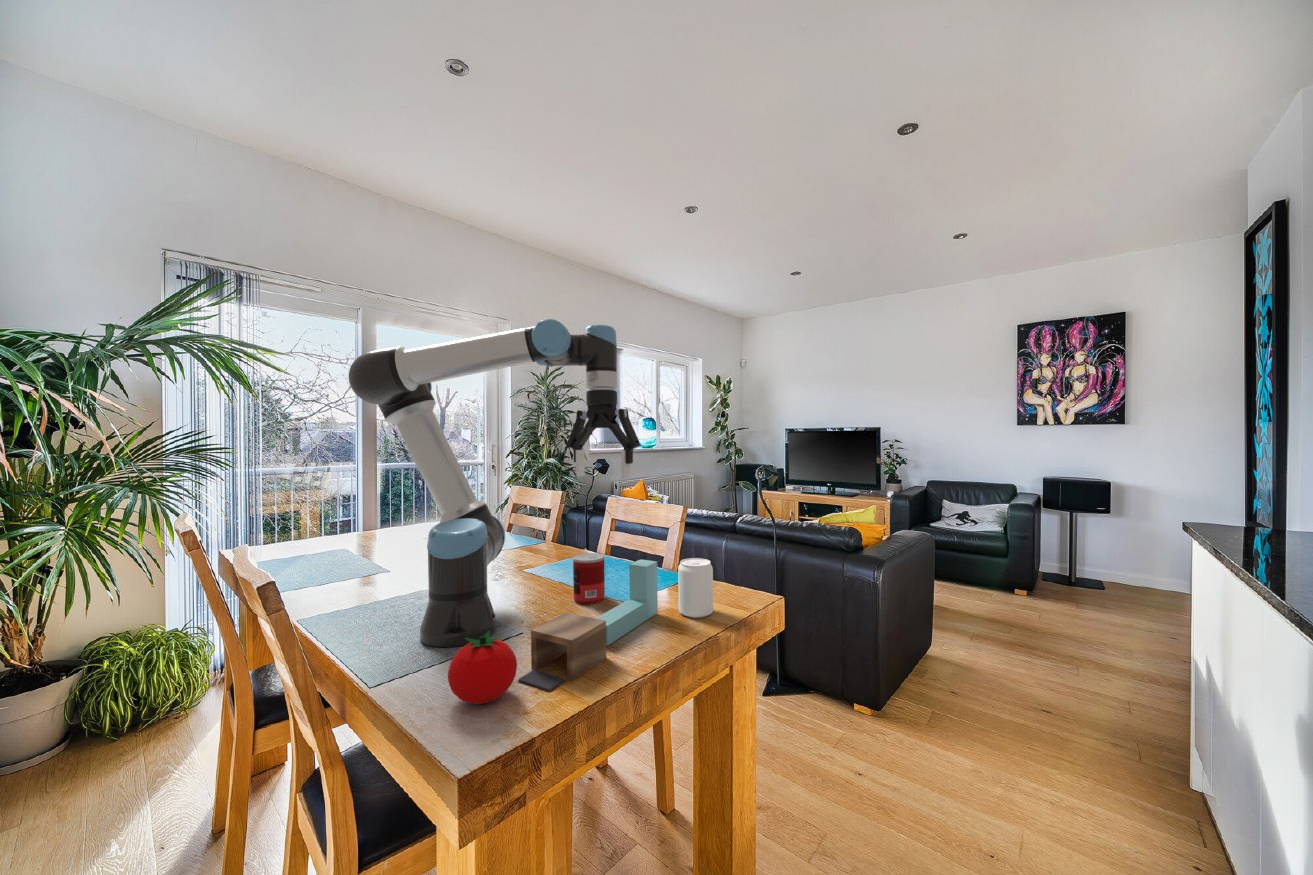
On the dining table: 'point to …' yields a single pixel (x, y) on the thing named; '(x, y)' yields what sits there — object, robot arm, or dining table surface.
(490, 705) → the dining table surface
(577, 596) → the canned food
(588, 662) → the tunnel
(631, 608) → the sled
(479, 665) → the tomato
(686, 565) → the beverage can
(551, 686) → the pad
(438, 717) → the dining table surface
